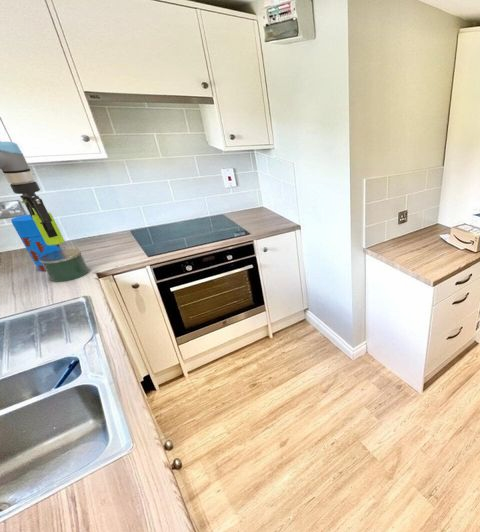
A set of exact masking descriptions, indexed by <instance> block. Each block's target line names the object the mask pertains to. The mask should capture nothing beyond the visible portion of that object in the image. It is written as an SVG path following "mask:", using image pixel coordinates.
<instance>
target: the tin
mask: <svg viewBox="0 0 480 532" xmlns="http://www.w3.org/2000/svg"><path fill="white" fill-rule="evenodd" d="M39 260H40V262H41V263H42V264H43V266H44V267H45V269H46V271H45V272H46V273H47V275H48V276H49V279H50V280H51V281H52V282H55V283H60V282H68V281H73V280H76V279H79V278H81V277H83V276H85V275H87V274H88V273H89V271H90V269H89V267H88V266H87V263H86V262H85V260H84V258H83V255H82V251H81V249H78V248H65V249H62V250H59V251H55V252H51V253H48V254H46V255H43V256H42V257H40V258H39Z"/></svg>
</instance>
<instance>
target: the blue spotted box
mask: <svg viewBox="0 0 480 532" xmlns="http://www.w3.org/2000/svg"><path fill="white" fill-rule="evenodd" d="M10 221H11V224H12V226H13V228H14V229H15V232H16V233H17V235H18V236H19V238H20V240H21V242H22V244H23V246H24V247H25V249H26V251H27V252H28V254H29V257H30V258H31V259H32V261H33V263H34V265H35V266H36V268H37V269H38V271H40V272H47V271H46V269H45V267H44V266H43V264H42V263H41V262H40V260H39V258H40V257H42V256H43V255H46V254H48V253H51V252H55V251H59V250H63V249H62V247H61V244H56V245H47V244H46V243H45V241H44V239H43V237H42V235H41V233H40V231H39V229H38V227H37V226H36V224H35V222H34V220H33V218H32V217H31V215H30V214H25V215H24V214H23V215H20V216H15V217H13V218H11V219H10Z"/></svg>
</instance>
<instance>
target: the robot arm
mask: <svg viewBox="0 0 480 532" xmlns="http://www.w3.org/2000/svg"><path fill="white" fill-rule="evenodd" d="M0 170H1V171H2V174H3V175H4V177H5V180H6V181H7V182H8V183H9V186H10V188H11V190H12V192H13V193H14V194H16V195H19V196H20V198H21V200H22V201H24V200H26V201H27V203H24V206H25V207H26V209H27V211H28V213H29V215H31V217H32V215H35V213H34V211H33V209H32V208H34V210H35V212H36V213H37V215H38V216H39V218H40V220H41V221H42V222H41V223H40V224H42V225H43V227H44V229H45V231H46V233H47V235H48V237H49V238H51V237H55V236H58V235H57V233H56V231H55V229H54V227H53V225H52V223H51V221H52V219H51V217H50V216H49V214H48V213H49V212H48V210H47V208H46V206H45V204H44V202H43V199H42V198H40V196H39V195H37V192H40V191H41V188H40V186H39V184H38V182H37V181H35V180H36V179H35V177H34V175H35V173H34V172H32V171H31V169H30V167H29V164H28V162H27V160H26V158H25V156H24V153H23V151H22V150H21V149H20V146H19V145H18V144H17V143H15V142H13V141H0ZM34 205H35V206H34Z"/></svg>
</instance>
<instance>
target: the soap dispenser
mask: <svg viewBox="0 0 480 532" xmlns="http://www.w3.org/2000/svg"><path fill="white" fill-rule="evenodd" d="M20 203H21V204H25V203H27V201H26V200H24V201H23V200H22V201H20ZM34 206H35V205H34ZM32 209H33V211H34V213H35V215H32V218H33V220H34V222H35V224H36V226H37V227H38V229H39V231H40V233H41V235H42V237H43V239H44V241H45V243H46V244H47V245H56V244H59V245H61V244H63V243H64V242H65V239H64V237H63V235H62V233H61V230H60V229H59V227H58V225H57V222H56V221H55V219H54V217H53V215H52V213H51V212H48V214H49V216H50V217H51V219H52V221H51V223H52V225H53V227H54V229H55V231H56V233H57V235H58V236H55V237H51V238H49V237H48V235H47V233H46V231H45V229H44V227H43V225H42V224H40V223H41V222H42V221H41V220H40V218H39V216H38V215H37V213H36V212H35V210H34V208H32Z"/></svg>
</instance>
